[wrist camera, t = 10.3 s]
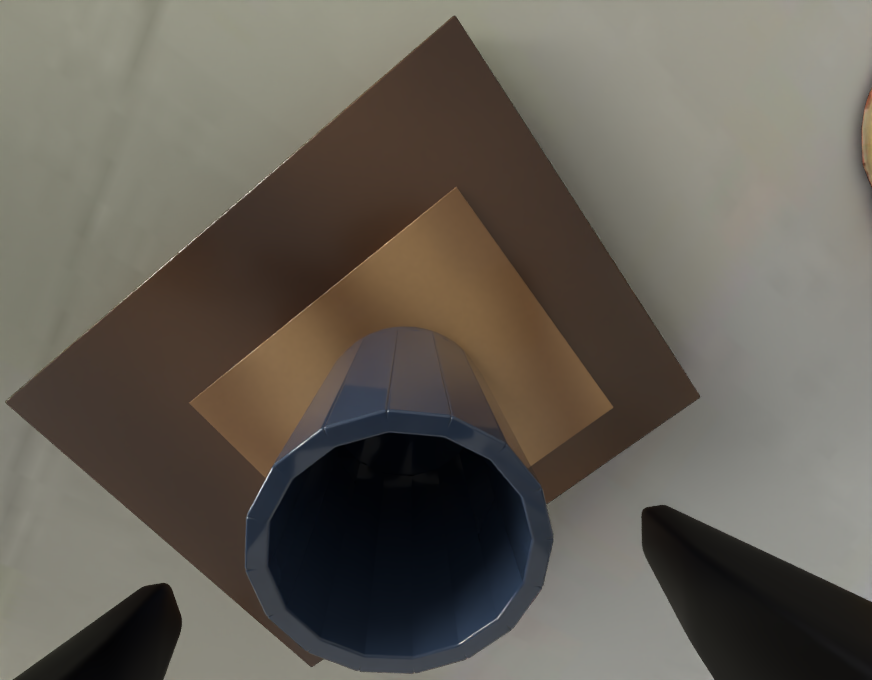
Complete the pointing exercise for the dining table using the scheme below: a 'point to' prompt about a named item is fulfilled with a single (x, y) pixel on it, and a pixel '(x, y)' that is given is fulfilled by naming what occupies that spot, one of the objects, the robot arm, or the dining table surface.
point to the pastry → (867, 138)
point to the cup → (399, 513)
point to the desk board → (360, 312)
